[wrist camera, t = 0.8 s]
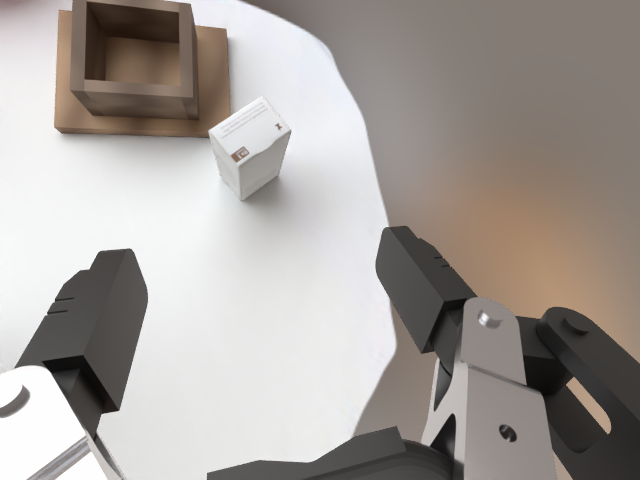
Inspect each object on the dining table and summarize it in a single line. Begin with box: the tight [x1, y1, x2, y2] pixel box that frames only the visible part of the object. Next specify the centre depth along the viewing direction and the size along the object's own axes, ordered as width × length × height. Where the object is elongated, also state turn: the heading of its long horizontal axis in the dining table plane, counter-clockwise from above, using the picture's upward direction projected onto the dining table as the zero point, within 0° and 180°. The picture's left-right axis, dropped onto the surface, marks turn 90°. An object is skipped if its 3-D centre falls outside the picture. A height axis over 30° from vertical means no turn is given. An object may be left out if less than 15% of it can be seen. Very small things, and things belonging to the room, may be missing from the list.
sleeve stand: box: [54, 0, 230, 137], centre depth 34 cm, size 18×14×6 cm
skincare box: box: [208, 96, 291, 201], centre depth 32 cm, size 6×4×12 cm
